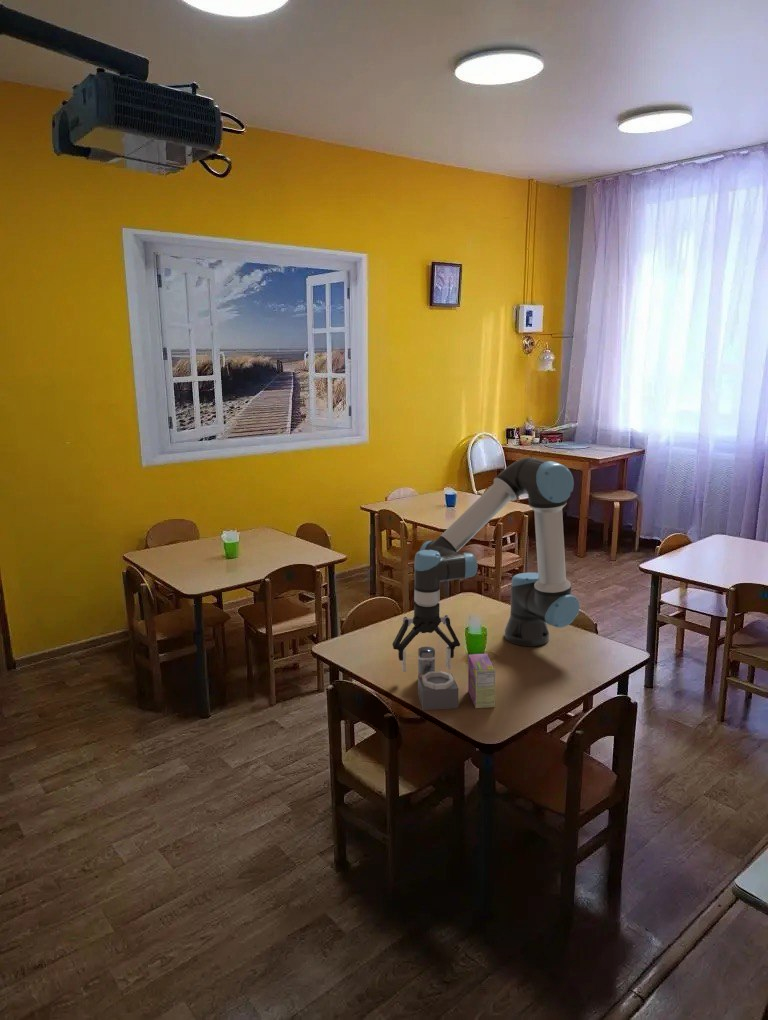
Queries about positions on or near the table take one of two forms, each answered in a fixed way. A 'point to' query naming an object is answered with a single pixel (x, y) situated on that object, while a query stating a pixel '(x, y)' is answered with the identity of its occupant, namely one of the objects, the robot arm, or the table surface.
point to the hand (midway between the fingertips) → (425, 668)
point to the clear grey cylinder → (426, 660)
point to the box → (481, 680)
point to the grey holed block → (437, 691)
